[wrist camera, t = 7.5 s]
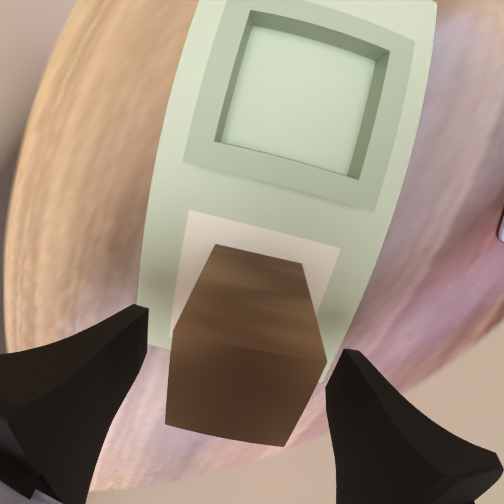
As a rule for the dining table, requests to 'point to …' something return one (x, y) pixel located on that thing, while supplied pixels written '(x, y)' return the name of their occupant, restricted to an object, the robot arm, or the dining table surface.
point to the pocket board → (286, 147)
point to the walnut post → (245, 350)
